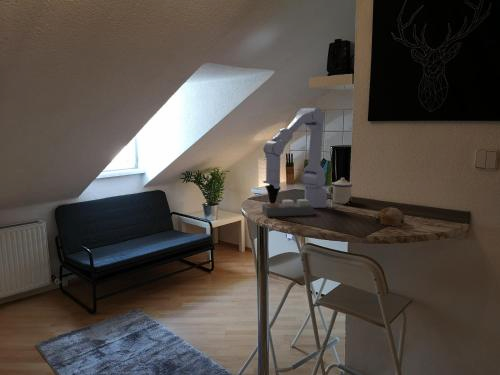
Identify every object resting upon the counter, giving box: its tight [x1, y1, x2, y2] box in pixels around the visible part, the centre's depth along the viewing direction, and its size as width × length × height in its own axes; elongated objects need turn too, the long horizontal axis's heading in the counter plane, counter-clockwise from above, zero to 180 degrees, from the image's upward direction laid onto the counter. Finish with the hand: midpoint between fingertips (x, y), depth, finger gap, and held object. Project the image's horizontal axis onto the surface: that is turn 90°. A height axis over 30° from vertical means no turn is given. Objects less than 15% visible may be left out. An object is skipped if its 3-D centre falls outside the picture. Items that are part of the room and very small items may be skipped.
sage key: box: [296, 198, 309, 206], centre depth 173 cm, size 4×4×4 cm
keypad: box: [261, 202, 315, 217], centre depth 172 cm, size 20×8×4 cm, turn 100°
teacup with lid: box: [327, 177, 353, 205], centre depth 197 cm, size 12×9×12 cm
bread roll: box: [375, 206, 405, 227], centre depth 158 cm, size 10×10×8 cm
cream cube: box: [281, 199, 295, 207], centre depth 172 cm, size 4×4×4 cm
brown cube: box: [266, 201, 279, 207], centre depth 171 cm, size 4×4×4 cm
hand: (272, 202), depth 171 cm, fingers closed, pressing on brown cube
